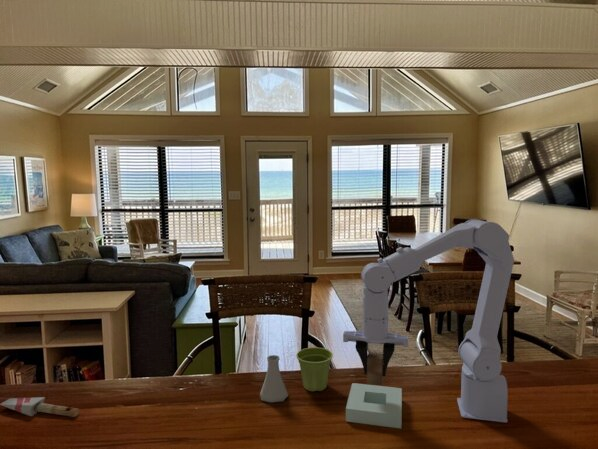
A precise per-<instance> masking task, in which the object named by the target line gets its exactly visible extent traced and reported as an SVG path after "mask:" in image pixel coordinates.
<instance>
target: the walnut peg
mask: <svg viewBox="0 0 598 449" xmlns="http://www.w3.org/2000/svg"><path fill="white" fill-rule="evenodd" d="M382 370H383V353H379V352H370V351H369V352H368V357H367V375H366V384H367V385H376V386H383V382H384V381H383V380H384V376H382Z"/></svg>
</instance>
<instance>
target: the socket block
mask: <svg viewBox="0 0 598 449" xmlns="http://www.w3.org/2000/svg"><path fill="white" fill-rule="evenodd" d="M350 386H351V387H350V390H349V394H348V398H347V402H346V407H345V422H348V423H355V424H356V423H357V424H362V425H371V426H377V427H378V426H379V427H386V428H393V429H402V422H403V420H402V418H403V417H402V416H403V415H402V414H403V413H402V412H403V410H402V406H403V403H402V402H403V398H402V397H403V394H402V393H403V388H401V387H393V386H386V385H385V386H383V385H376V384H367V383H366V384H365V383H357V382H355V383H353V382H352V384H351V385H350Z"/></svg>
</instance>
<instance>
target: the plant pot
mask: <svg viewBox="0 0 598 449" xmlns="http://www.w3.org/2000/svg"><path fill="white" fill-rule="evenodd" d="M333 355H334V353H333V352H332V351H330V350H329V349H327V348H323V347H316V346H315V347H314V346H313V347H307V348H302V349H301V350H299V351H298V352H296V359H297V361H298V364H299V369H300V372H301V378H302V379H301V380H302V385H303V388H304V389H305V390H307V391H309V392H316V391H318V392H321V391H324V390H325V389H326V388H327V387H328V380H329V370H330V364H331V362H332V361H331V360H332V359H333Z"/></svg>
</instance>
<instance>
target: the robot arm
mask: <svg viewBox="0 0 598 449" xmlns="http://www.w3.org/2000/svg"><path fill="white" fill-rule="evenodd" d="M509 238H510V234H508V232H507V231H506V230H505V229H504V228H503V226H501V225H500V224H499V223H497V222H494V221H485V220H481V219H480V218H479V219H478V218H471V219H468V220H466V221H465V222H461V223H458V224H456V225H455V226H453V227H450V229H447V230H446V231H444V232H443V233H440V234H439V235H437V236H435V237H434V238H431V239H430V240H427V241H426V242H424V243H423V244H421V245H419V246H417V247H416V248H412V247H408V246H407V247H401V246H398V247H397V248H396V249H395V250H396V252H394V253H392V254H390V255H388V256H386V257H384V258H382V257H380V258H377V259H376V260H377V262H370V263H368V264H366V265H365V266H364V267H363V269H362V270H361V273H360V278H361V281H362V283H364V284H363V289H362V292H363V294H362V330H353V331H351V330H350V331H349V330H348V331H347V330H344V331H343V336H342V339H343V341H342V342H343V343H348V342H352V343H353V342H354V343H355V350H356V353H357V354H358V356H359V358H360V361H361V364H362V368H363V374H364V375H366V376H367V357H368V350H369V346H368V345H369V344H379V345H382V346H383V347H382V354H383V370H382V376H383V377H386V375H387V374H386V373H387V369H388V366H389V364H390V363H389V362H390V360H391V359H392V357H393V354H394V352H395V348H396V347H395V346H401V347H403V348H409V336H408V335H405V334H404V335H402V334H397V333H392V332H389V295H388V291H389V288H390V287H391V285H392V283H395V282H397V281H399V280H401V279H403V278H405V277H408V276H409V275H411V274H413V273H416V272H417V271H419V270H420V268H421V266H422V264H423V262H426V261H428V260H430V259H432V258H435V257H437V256H439V255H441V254H443V253H445V252H448V251H450V250H453V249H455V248H464V249H473V250H475V251H476V252H477V254H478V255H479V256H480V257H481V258H482V260H483V261H484V262H485V266H484V267H485V268H484V271H483V276H482V280H481V285H480V289H479V294H478V298H477V302H476V307H475V308H476V309H475V313H474V316H473V322H472V326H471V329H469V330H468V331H467V332H466V333H465V337H464V339H463V340H462V341H461V343H460V345H459V346H458V351H457V353H458V357H459V358H460V359H461V361H462V367H461V376H460V378H461V382H460V385H461V386H460V389H461V390H460V397H457V398H456V401H457V405H458V409H459V410H458V411H459V412H460V416H461V418H465V419H471V420H472V419H473V420H481V421H488V422H489V421H490V422H497V423H505V424H506V423H508V394H509V393H508V382H507V379H506V377H505V376H504V375H503V374H501V372H502V368H503V366H502V365H503V364H502V361H501V352H502V349H501V346H500V343H499V340H498V339H499V338H498V333H499V329H500V324H501V321H502V317H503V311H504V308H505V303H506V299H507V294H508V290H509V289H508V288H509V285H510V281H511V276H512V272H513V267H514V264H515V258H514V255H513V252H512V249H511V244H510V242H509Z"/></svg>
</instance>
